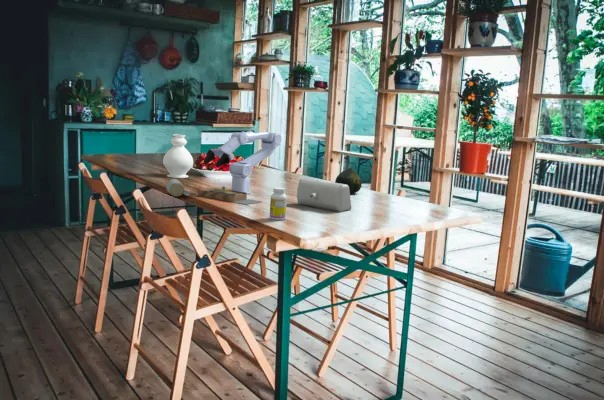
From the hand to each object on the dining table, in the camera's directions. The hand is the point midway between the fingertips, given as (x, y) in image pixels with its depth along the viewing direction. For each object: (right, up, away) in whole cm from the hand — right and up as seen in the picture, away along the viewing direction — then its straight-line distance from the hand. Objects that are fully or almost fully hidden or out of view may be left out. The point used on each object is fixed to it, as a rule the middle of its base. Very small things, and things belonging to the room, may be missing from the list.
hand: (210, 164), depth 272 cm
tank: (+53, -21, -6) cm, 57 cm away
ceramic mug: (-16, -15, 0) cm, 22 cm away
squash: (+70, -14, +47) cm, 85 cm away
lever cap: (+5, -13, +2) cm, 14 cm away
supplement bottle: (+34, -25, -39) cm, 58 cm away
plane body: (+5, -16, +3) cm, 17 cm away
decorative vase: (-31, -3, +68) cm, 74 cm away
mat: (+18, -18, -5) cm, 27 cm away
